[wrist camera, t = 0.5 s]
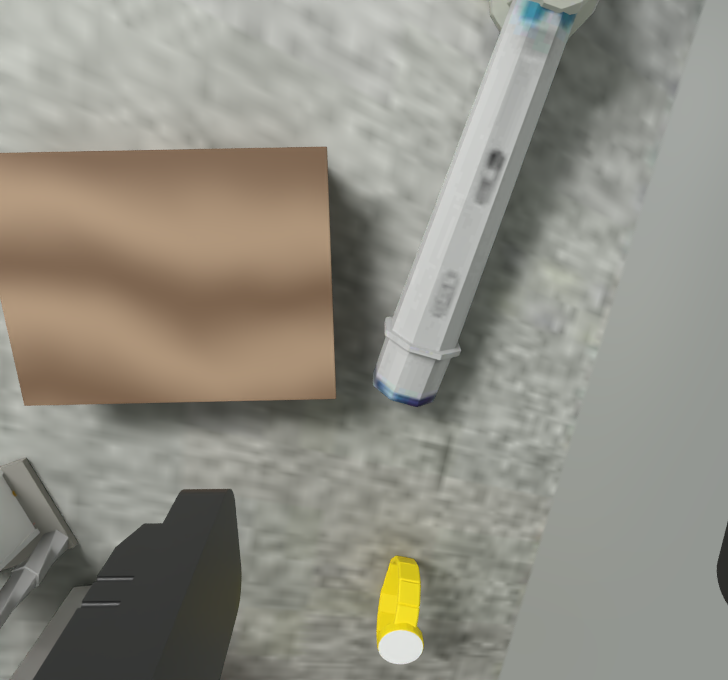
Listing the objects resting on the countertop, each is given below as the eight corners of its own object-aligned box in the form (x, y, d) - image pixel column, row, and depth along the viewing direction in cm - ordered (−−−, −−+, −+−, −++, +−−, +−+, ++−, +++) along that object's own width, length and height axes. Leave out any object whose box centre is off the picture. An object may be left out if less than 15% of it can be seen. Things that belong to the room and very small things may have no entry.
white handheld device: (359, 394, 29) (553, -177, 19) (362, 343, 36) (512, -111, 25) (448, 418, 30) (683, -125, 20) (436, 364, 36) (612, -74, 26)
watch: (403, 608, 39) (409, 687, 33) (366, 601, 39) (365, 679, 33) (426, 545, 37) (436, 618, 31) (387, 537, 36) (390, 610, 31)
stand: (19, 156, 29) (-33, 153, 25) (330, 150, 29) (326, 146, 25) (63, 378, 33) (24, 405, 29) (338, 372, 33) (335, 398, 29)
